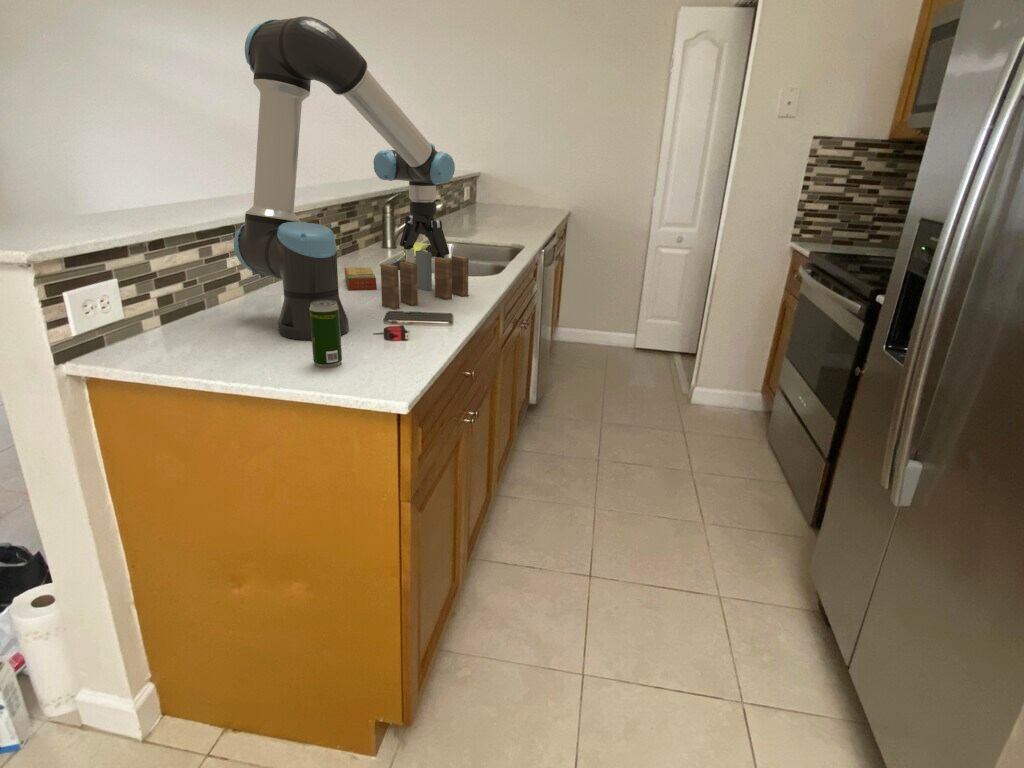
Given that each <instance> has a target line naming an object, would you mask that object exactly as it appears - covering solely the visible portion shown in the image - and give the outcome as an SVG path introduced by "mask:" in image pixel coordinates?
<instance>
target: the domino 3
mask: <svg viewBox="0 0 1024 768" xmlns="http://www.w3.org/2000/svg"><path fill="white" fill-rule="evenodd" d="M432 255H433V254H432V252H429V251H426V250H422V249H421V250H415V264H417V288H418V290H423V291H432V290H433V277H432V276H433V275H432V274H433V273H432V272H433V270H432V269H433V267H432V266H433V264H432V257H433V256H432Z"/></svg>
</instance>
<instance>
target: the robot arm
mask: <svg viewBox="0 0 1024 768" xmlns="http://www.w3.org/2000/svg"><path fill="white" fill-rule="evenodd" d="M244 55H245V56H244V57H245V60H246V63H247V64H248V65H249V69H250V70H251V72H252V73H253V84H254V85H255V87H256V88H257V90H258V91H259V93H260V94H259V108H258V110H259V112H258V127H257V140H256V141H257V143H256V156H255V157H256V158H255V174H254V187H253V188H254V190H253V204H252V207H250V208H249V209H247V210H246V211H245V216H244V217H245V218H244V223H243V224H242V225H240V227H239V228H238V229H236V232H235V234H234V238H233V249H234V253H235V255H236V258H237V259H238V261H239V263H241V265H242V266H243V267H244V268H246V269H247V270H249V271H250V272H253V273H255V274H256V275H260V276H263V277H272V278H275V279H280V280H282V289H283V303H282V307H281V309H280V314H279V318H278V323H277V325H278V333H279V334H280V336H282V337H285V338H287V339H292V340H304V341H312V337H311V324H310V312H309V308H310V303H311V302H313V301H319V300H331V301H336V302H337V306H338V307H339V317H340V334H341V336H342V335H344V334H346V333H348V332H349V330H350V329H349V328H350V326H349V324H350V323H349V319H348V316H347V314H346V311H345V309H344V305H343V303H342V301H341V298H340V293H339V273H338V257H337V256H338V253H337V252H338V251H337V249H338V247H337V243H336V236H335V233H334V232H333V230H332V229H331V228H330V227H327V226H325V225H323V224H319V223H314V222H306V221H301V220H300V219H299V217H298V216H297V215H296V213H295V201H296V200H295V198H296V186H297V185H296V184H297V173H298V172H297V171H298V170H297V169H298V161H299V159H298V158H299V147H300V146H299V144H300V132H301V131H300V130H301V118H302V115H301V114H302V106H303V105H302V104H303V101H305V100H306V99H307V98H308V97H310V95H311V86H312V85H311V84H312V83H311V82H312V81H317V82H320V83H322V84H323V85H326V87H328V88H329V89H330V90H331V91H332V92H333V93H334V94H335V95H337V96H343V97H344V98H345V99H346V101H348V102H349V104H351V105H352V107H353V108H355V110H356V111H357V112H358V113H359V114H360V115H361V116H362V117H363V118H364V119H365V120H366V121H367V123H369V124H370V126H372V128H373V129H374V130H375V131H376V133H378V134H379V135H380V136H381V138H383V139H384V140H385V141H386V143H387V144H388V145H390V147H391V148H392V149H386V150H385V149H384V150H380V151H378V152H377V153H376V154H375V155H374V156H373V157H374V158H373V170H374V173H375V175H376V177H378V178H379V180H383V181H391V182H392V181H405V182H408V194H409V195H408V196H409V199H410V202H409V214H410V215H406V216H405V223H404V228H403V230H402V231H403V232H402V235H401V238H400V241H399V242H400V243H399V246H400V247H402V248H403V249H404V259H405V261H407V262H411V263H415V264H416V256H415V248H414V245H415V243H416V242H417V240H418V239H419V236H420V235H424V236H425V237H426V238H427V239H428V242H429V244H430V246H431V248H432V249H433V252H434V254H435V255H434V257H433V267H434V268H433V272H434V275H433V277H434V280H435V258H438V257H442V258H445V256H447V255H450V249H449V246H448V243H447V241H446V237H445V233H444V230H443V222H442V220H440V219H437V220H436V219H434V217H435V216H436V215H437V202H436V200H437V186H436V185H437V184H447V183H448V182H450V181H451V180H452V179H453V177H454V175H455V170H456V166H455V165H456V164H455V161H454V159H453V157H452V155H450V154H449V153H447V152H443V151H437V150H436V147H435V145H434V144H433V143H430V142H429V141H428V140H427V138H426V137H425V136H424V135H423V134H422V132H421V131H420V130H419V129H418V127H417V126H416V125H415V124H414V123H413V122H412V121H411V119H410V118H409V117H408V116H407V114H406V113H405V112H404V111H403V110H402V109H401V107H399V105H398V104H397V103H396V101H395V100H394V99H393V98H392V97H391V96H390V95H389V93H388V92H387V91H386V90H385V89H384V87H383V86H382V85H381V84H380V83H379V82H378V81H377V79H376V78H375V77H374V76H373V75H372V74H371V73H370V71H369V70H368V66H369V65H368V62H367V61H366V59H365V58H364V57H363V55H362V54H361V53H360V52H359V51H358V50H357V48H355V46H353V44H352V43H350V41H349V40H348V39H347V38H346V37H344V35H342V34H341V33H340V32H338V31H337V30H336V29H335V28H334V27H332V26H330V25H329V24H328V23H326V22H325V21H322V20H320V19H319V18H315V17H312V16H298V17H291V18H283V19H277V18H276V19H268V20H265V21H263V22H260V23H258V24H256V25H254V27H252V28H251V29H250V31H249V32H248V34H247V36H246V38H245V41H244Z"/></svg>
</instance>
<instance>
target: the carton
mask: <svg viewBox="0 0 1024 768" xmlns="http://www.w3.org/2000/svg"><path fill="white" fill-rule="evenodd" d="M344 278H345V279H344V280H345V284H346V287H347V288H346V289H347V291H349V292H350V291H351V292H353V291H354V292H355V291H357V292H358V291H377V290H378V288H377V287H378V286H377V277H376V275H375V274H374V271H373V269H372V267H369V266H367V267H366V266H365V267H364V266H363V267H361V266H360V267H357V266H356V267H355V266H354V267H344Z"/></svg>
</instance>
